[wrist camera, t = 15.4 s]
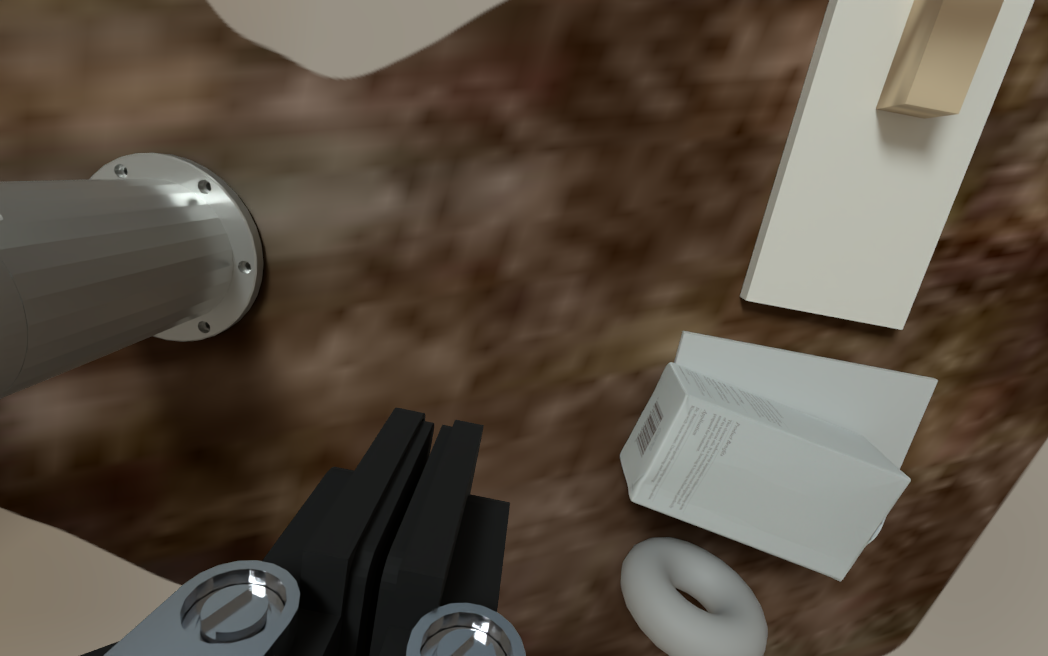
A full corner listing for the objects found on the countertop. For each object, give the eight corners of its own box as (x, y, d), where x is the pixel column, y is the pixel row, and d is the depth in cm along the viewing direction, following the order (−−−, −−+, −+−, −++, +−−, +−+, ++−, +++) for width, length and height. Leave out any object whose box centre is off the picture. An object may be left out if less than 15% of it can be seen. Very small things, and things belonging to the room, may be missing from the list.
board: (739, 296, 36) (745, 300, 34) (900, -235, 27) (915, -253, 26) (891, 324, 35) (902, 330, 34) (1097, -201, 27) (1122, -218, 26)
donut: (606, 546, 42) (620, 659, 32) (623, 510, 41) (642, 615, 31) (727, 587, 42) (776, 711, 32) (747, 553, 41) (804, 670, 31)
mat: (647, 460, 39) (647, 462, 39) (682, 330, 36) (684, 332, 36) (879, 504, 39) (882, 508, 39) (934, 378, 36) (938, 380, 36)
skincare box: (616, 454, 39) (801, 527, 40) (627, 505, 33) (842, 589, 34) (670, 353, 37) (865, 434, 37) (691, 390, 31) (921, 484, 32)
